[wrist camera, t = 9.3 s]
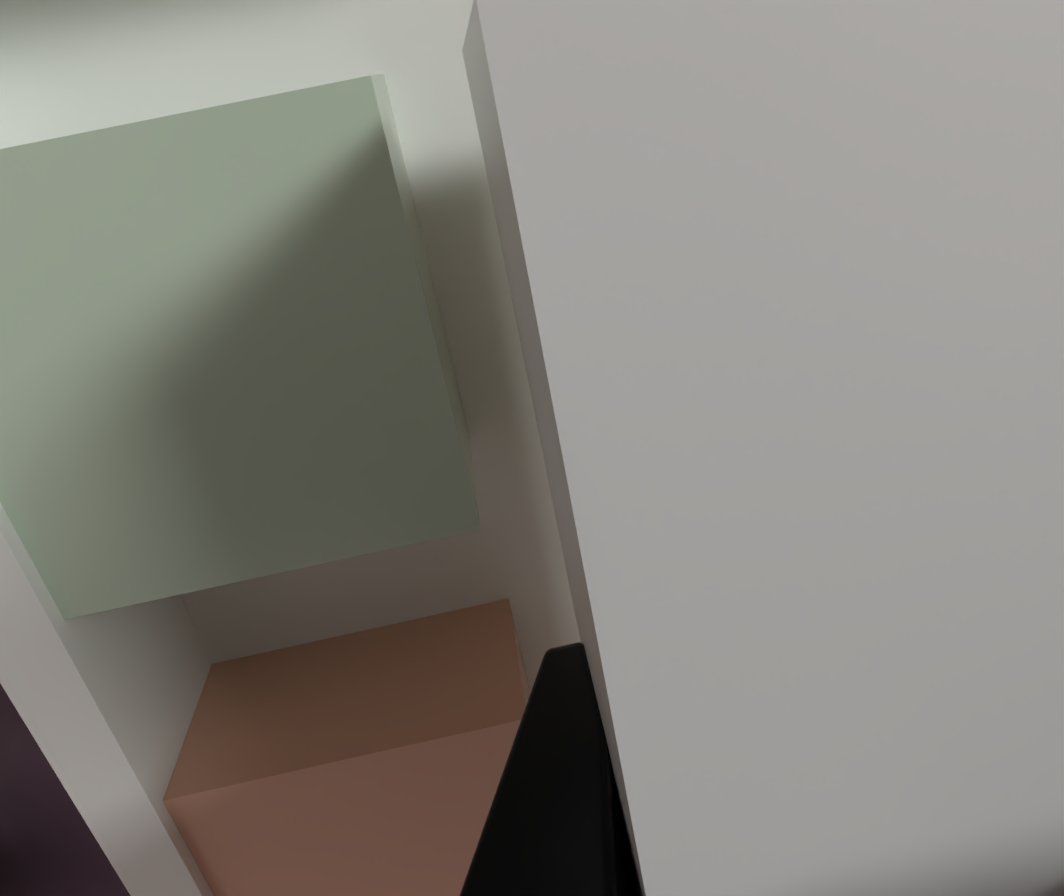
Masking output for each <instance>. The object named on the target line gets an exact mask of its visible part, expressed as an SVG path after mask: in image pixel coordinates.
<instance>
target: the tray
mask: <svg viewBox="0 0 1064 896" xmlns="http://www.w3.org/2000/svg"><path fill="white" fill-rule="evenodd" d="M473 2H474V0H0V149H3V148H8V147H13V146H18V145H23V144H28V143H33V142H38V141H43V140H48V139H53V138H58V137H63V136H68V135H73V134H78V133H84V132H89V131H94V130H99V129H104V128H109V127H114V126H119V125H124V124H129V123H134V122H139V121H144V120H149V119H154V118H159V117H164V116H169V115H174V114H179V113H184V112H189V111H194V110H199V109H204V108H209V107H214V106H219V105H224V104H229V103H234V102H239V101H244V100H249V99H254V98H259V97H264V96H269V95H274V94H279V93H284V92H289V91H294V90H299V89H304V88H309V87H314V86H319V85H324V84H329V83H334V82H339V81H344V80H349V79H354V78H359V77H364V76H369V75H377V74H384V75H385V79H386V83H387V88H388V92H389V96H390V100H391V105H392V109H393V113H394V117H395V122H396V126H397V130H398V134H399V139H400V143H401V147H402V151H403V156H404V160H405V164H406V168H407V173H408V177H409V181H410V185H411V189H412V194H413V198H414V202H415V206H416V211H417V215H418V219H419V223H420V228H421V232H422V236H423V240H424V245H425V249H426V253H427V257H428V262H429V266H430V270H431V274H432V279H433V283H434V287H435V291H436V296H437V300H438V304H439V308H440V312H441V317H442V321H443V325H444V329H445V334H446V338H447V342H448V346H449V351H450V355H451V359H452V363H453V368H454V372H455V376H456V380H457V385H458V389H459V393H460V397H461V402H462V406H463V410H464V414H465V419H466V423H467V427H468V431H469V436H470V445H471V453H472V461H473V470H474V478H475V486H476V495H477V503H478V511H479V520H480V528H481V529H479V530H474V531H470V532H465V533H460V534H456V535H451V536H447V537H442V538H437V539H433V540H428V541H424V542H419V543H414V544H410V545H405V546H401V547H396V548H391V549H387V550H382V551H378V552H373V553H368V554H364V555H359V556H355V557H350V558H345V559H341V560H336V561H332V562H327V563H322V564H318V565H313V566H309V567H304V568H299V569H295V570H290V571H286V572H281V573H276V574H272V575H267V576H263V577H258V578H253V579H249V580H244V581H240V582H235V583H230V584H226V585H221V586H217V587H212V588H207V589H203V590H198V591H194V592H189V593H184V594H180V595H175V596H171V597H166V598H161V599H157V600H152V601H148V602H143V603H138V604H134V605H129V606H125V607H120V608H115V609H111V610H106V611H102V612H97V613H93V614H88V615H83V616H79V617H74V618H70V619H65V620H64V619H63V617H62V615H61V613H60V611H59V610H58V608H57V606H56V604H55V602H54V600H53V599H52V597H51V595H50V593H49V591H48V589H47V588H46V586H45V584H44V582H43V580H42V578H41V577H40V575H39V573H38V571H37V569H36V567H35V565H34V564H33V562H32V560H31V558H30V556H29V554H28V553H27V551H26V549H25V547H24V545H23V543H22V542H21V540H20V538H19V536H18V534H17V532H16V531H15V529H14V527H13V525H12V523H11V521H10V519H9V518H8V516H7V514H6V512H5V510H4V508H3V507H2V505H1V503H0V684H1V685H2V687H3V688H4V690H5V692H6V693H7V695H8V697H9V698H10V700H11V702H12V703H13V705H14V706H15V708H16V710H17V711H18V713H19V715H20V716H21V718H22V719H23V721H24V723H25V724H26V726H27V728H28V729H29V731H30V733H31V734H32V736H33V737H34V739H35V741H36V742H37V744H38V746H39V747H40V749H41V750H42V752H43V754H44V755H45V757H46V759H47V760H48V762H49V764H50V765H51V767H52V768H53V770H54V772H55V773H56V775H57V777H58V778H59V780H60V781H61V783H62V785H63V786H64V788H65V790H66V791H67V793H68V795H69V796H70V798H71V799H72V801H73V803H74V804H75V806H76V808H77V809H78V811H79V812H80V814H81V816H82V817H83V819H84V821H85V822H86V824H87V826H88V827H89V829H90V830H91V832H92V834H93V835H94V837H95V839H96V840H97V842H98V843H99V845H100V847H101V848H102V850H103V852H104V853H105V855H106V857H107V858H108V860H109V861H110V863H111V865H112V866H113V868H114V870H115V871H116V873H117V874H118V876H119V878H120V879H121V881H122V883H123V884H124V886H125V888H126V889H127V891H128V892H129V894H130V896H214V895H213V893H212V891H211V889H210V887H209V885H208V884H207V882H206V880H205V878H204V876H203V874H202V872H201V871H200V869H199V867H198V865H197V863H196V861H195V860H194V858H193V856H192V854H191V852H190V850H189V848H188V847H187V845H186V843H185V841H184V839H183V837H182V835H181V834H180V832H179V830H178V828H177V826H176V824H175V823H174V821H173V819H172V817H171V815H170V813H169V811H168V810H167V808H166V806H165V804H164V802H163V799H164V796H165V793H166V790H167V788H168V785H169V782H170V779H171V776H172V774H173V771H174V768H175V765H176V763H177V760H178V757H179V754H180V751H181V749H182V746H183V743H184V740H185V737H186V735H187V732H188V729H189V726H190V724H191V721H192V718H193V715H194V712H195V710H196V707H197V704H198V701H199V698H200V696H201V693H202V690H203V687H204V685H205V682H206V679H207V676H208V673H209V671H210V668H211V665H212V664H214V663H219V662H223V661H228V660H232V659H237V658H241V657H246V656H250V655H255V654H259V653H264V652H268V651H273V650H277V649H282V648H286V647H291V646H296V645H300V644H305V643H309V642H314V641H318V640H323V639H327V638H332V637H336V636H341V635H345V634H350V633H354V632H359V631H363V630H368V629H372V628H377V627H381V626H386V625H390V624H395V623H400V622H404V621H409V620H413V619H418V618H422V617H427V616H431V615H436V614H440V613H445V612H449V611H454V610H458V609H463V608H467V607H472V606H476V605H481V604H485V603H490V602H494V601H499V600H504V599H508V598H509V602H510V606H511V610H512V614H513V619H514V623H515V627H516V631H517V635H518V640H519V644H520V648H521V652H522V657H523V661H524V665H525V669H526V674H527V678H528V682H529V686H530V691H531V690H532V688H533V685H534V682H535V679H536V676H537V673H538V670H539V668H540V665H541V662H542V659H543V656H544V654H545V652H546V651H547V650H548V649H550V648H554V647H558V646H563V645H567V644H572V643H576V642H581V641H580V636H579V631H578V626H577V621H576V616H575V611H574V606H573V601H572V596H571V591H570V586H569V581H568V576H567V571H566V566H565V561H564V556H563V551H562V546H561V541H560V537H559V532H558V527H557V522H556V517H555V512H554V507H553V502H552V497H551V492H550V487H549V482H548V477H547V472H546V467H545V462H544V457H543V452H542V447H541V442H540V437H539V432H538V427H537V422H536V417H535V412H534V407H533V402H532V397H531V392H530V387H529V382H528V377H527V372H526V367H525V362H524V357H523V352H522V347H521V342H520V337H519V332H518V327H517V322H516V317H515V312H514V307H513V302H512V297H511V292H510V287H509V282H508V277H507V272H506V268H505V263H504V258H503V253H502V248H501V243H500V238H499V233H498V228H497V223H496V218H495V213H494V208H493V203H492V198H491V193H490V188H489V183H488V178H487V173H486V168H485V163H484V158H483V153H482V148H481V143H480V138H479V133H478V128H477V123H476V118H475V113H474V108H473V103H472V98H471V93H470V88H469V83H468V78H467V73H466V68H465V63H464V58H463V53H462V49H463V45H464V40H465V36H466V32H467V27H468V23H469V19H470V15H471V10H472V6H473Z"/></svg>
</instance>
